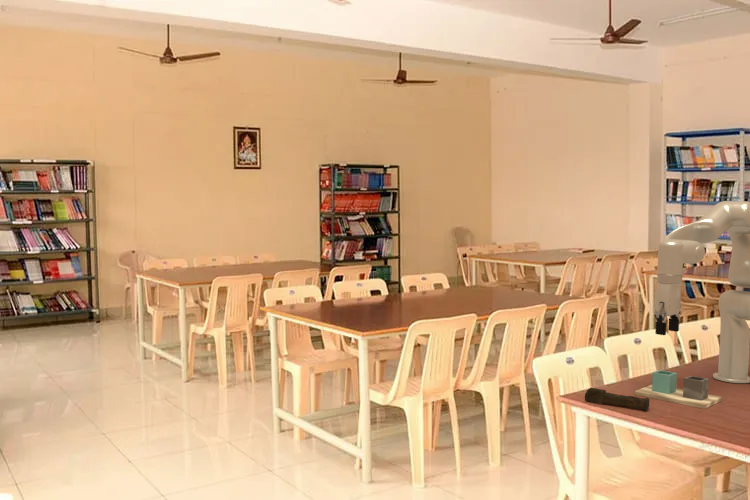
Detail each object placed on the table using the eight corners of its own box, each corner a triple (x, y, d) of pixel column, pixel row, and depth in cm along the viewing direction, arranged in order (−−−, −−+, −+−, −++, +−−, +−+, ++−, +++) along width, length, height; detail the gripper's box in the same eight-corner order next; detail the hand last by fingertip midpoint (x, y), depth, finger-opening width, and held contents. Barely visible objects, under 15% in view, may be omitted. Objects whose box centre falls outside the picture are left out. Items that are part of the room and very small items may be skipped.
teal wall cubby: (659, 388, 246) (660, 369, 246) (676, 391, 242) (677, 372, 242) (651, 390, 242) (652, 372, 242) (668, 394, 238) (669, 375, 238)
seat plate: (653, 387, 252) (654, 366, 251) (721, 400, 236) (722, 378, 236) (634, 394, 242) (635, 372, 241) (704, 408, 226) (705, 385, 226)
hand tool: (650, 410, 225) (650, 394, 225) (646, 413, 221) (647, 397, 221) (587, 399, 235) (588, 385, 235) (583, 402, 232) (584, 387, 232)
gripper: (669, 277, 248) (666, 328, 250) (646, 280, 236) (643, 334, 237) (692, 279, 243) (689, 331, 244) (669, 282, 231) (667, 337, 232)
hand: (667, 332), depth 241 cm, fingers open, 9 cm apart
